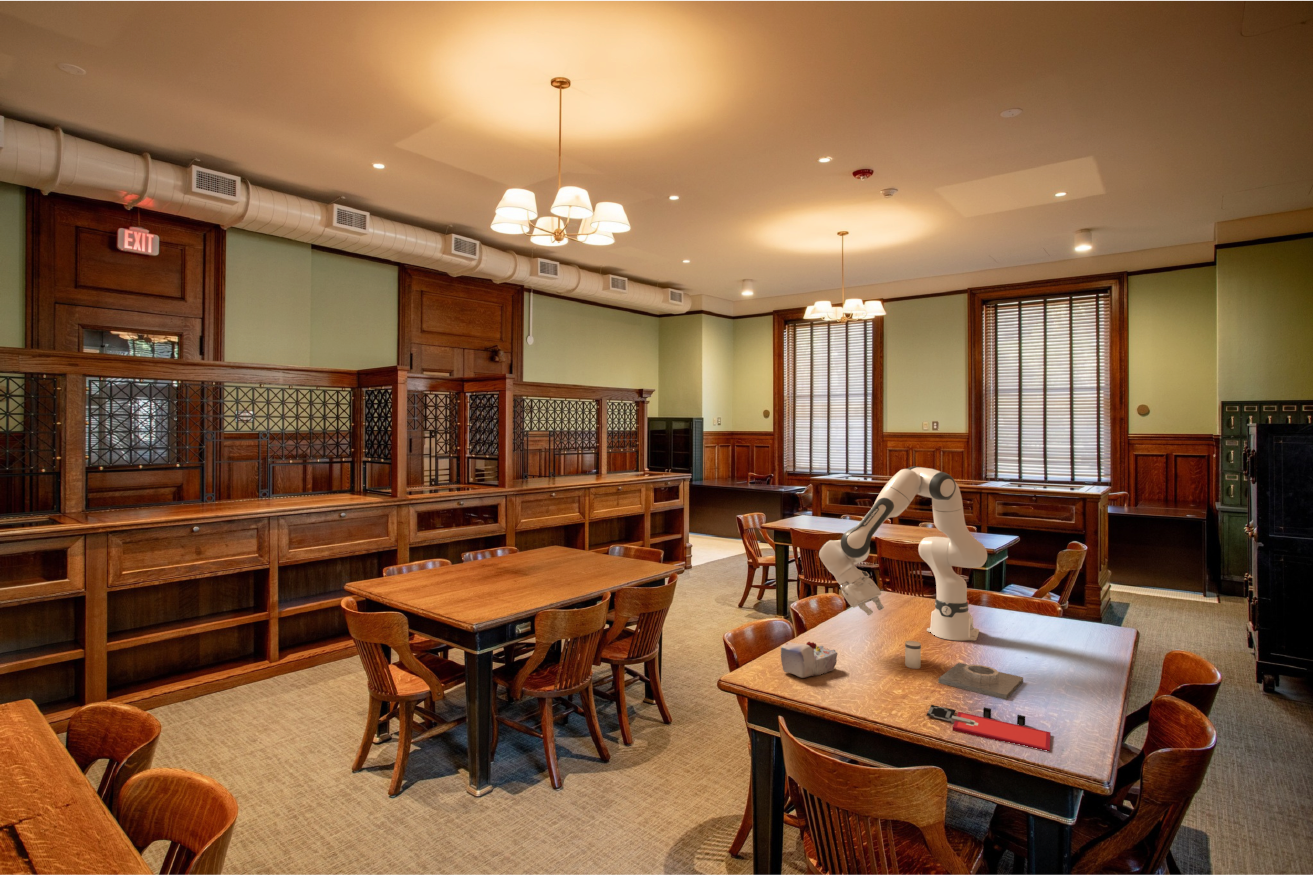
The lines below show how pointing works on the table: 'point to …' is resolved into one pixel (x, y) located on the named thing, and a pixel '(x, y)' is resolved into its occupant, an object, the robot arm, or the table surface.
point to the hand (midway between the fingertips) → (876, 611)
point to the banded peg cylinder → (913, 654)
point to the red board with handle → (993, 727)
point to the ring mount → (981, 680)
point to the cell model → (807, 659)
